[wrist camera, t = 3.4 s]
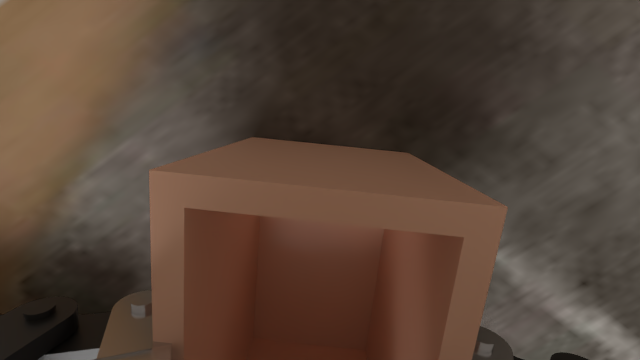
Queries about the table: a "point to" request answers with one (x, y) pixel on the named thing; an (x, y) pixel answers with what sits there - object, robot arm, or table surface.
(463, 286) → the box
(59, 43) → the table surface
